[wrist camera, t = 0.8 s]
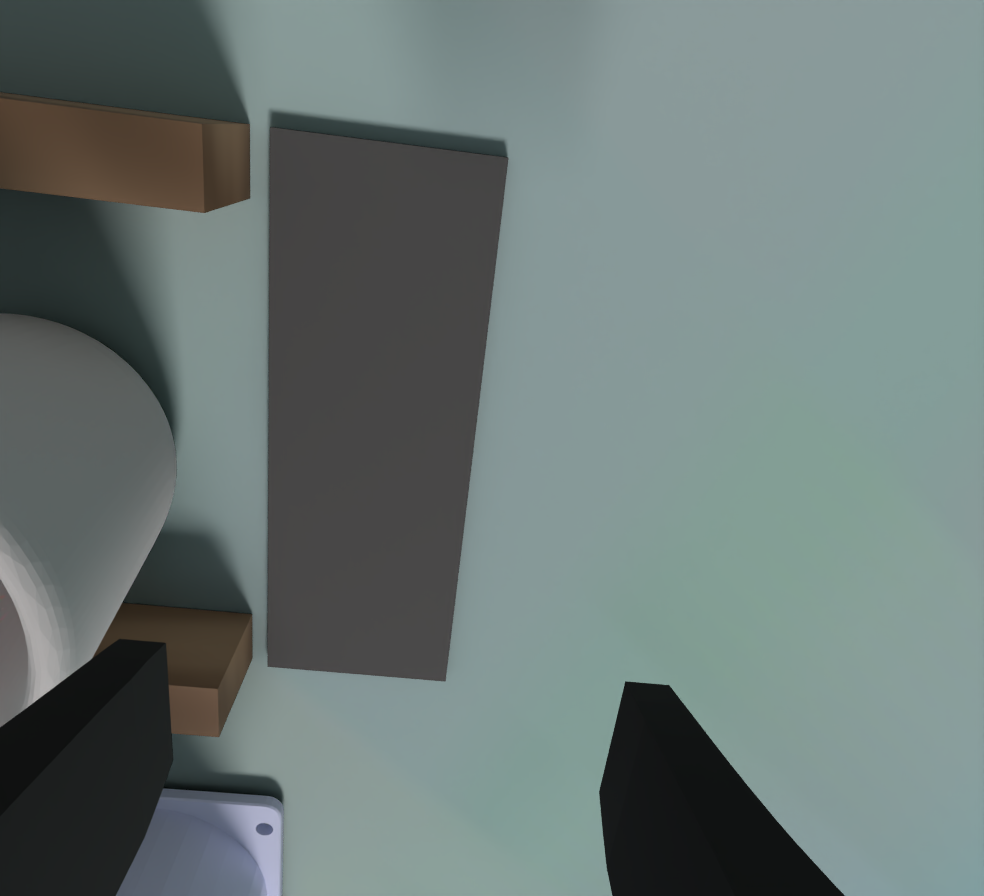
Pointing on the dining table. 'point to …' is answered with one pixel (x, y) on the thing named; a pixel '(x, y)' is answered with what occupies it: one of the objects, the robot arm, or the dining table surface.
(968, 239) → the dining table surface
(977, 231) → the dining table surface
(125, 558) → the cup
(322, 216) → the pad
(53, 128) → the channel
